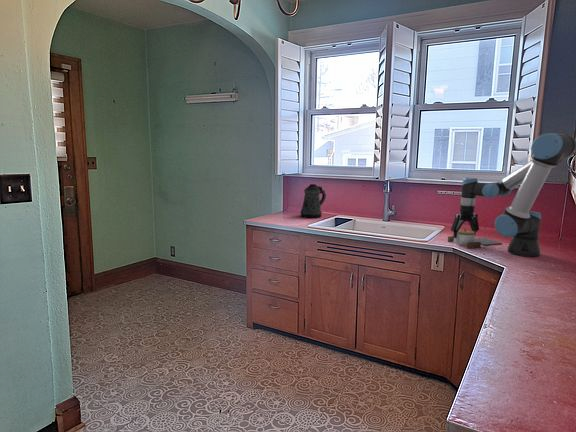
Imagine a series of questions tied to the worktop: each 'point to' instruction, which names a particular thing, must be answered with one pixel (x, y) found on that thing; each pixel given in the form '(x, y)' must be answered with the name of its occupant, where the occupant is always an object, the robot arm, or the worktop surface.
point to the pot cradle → (469, 245)
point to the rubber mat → (486, 241)
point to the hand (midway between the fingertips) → (463, 242)
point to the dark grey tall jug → (312, 202)
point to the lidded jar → (465, 236)
